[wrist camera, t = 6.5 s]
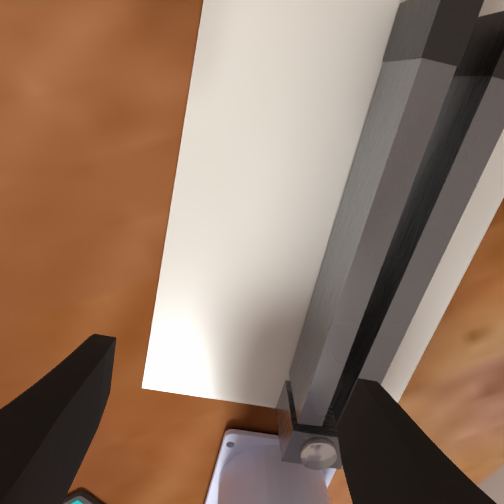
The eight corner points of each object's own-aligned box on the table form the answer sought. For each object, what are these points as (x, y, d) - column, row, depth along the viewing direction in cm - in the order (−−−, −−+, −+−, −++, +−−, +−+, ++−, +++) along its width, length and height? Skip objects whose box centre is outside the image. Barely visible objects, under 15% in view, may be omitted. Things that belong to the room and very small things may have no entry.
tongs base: (327, 415, 24) (343, 476, 20) (275, 407, 23) (282, 468, 20) (490, 30, 15) (568, 16, 12) (415, 7, 15) (471, -15, 11)
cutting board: (380, 412, 25) (386, 425, 24) (145, 375, 23) (142, 387, 22) (598, -26, 15) (621, -32, 15) (230, -148, 14) (229, -165, 13)
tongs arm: (310, 375, 22) (323, 427, 19) (287, 372, 22) (296, 424, 19) (431, 11, 15) (486, -7, 12) (399, 3, 15) (446, -18, 11)
